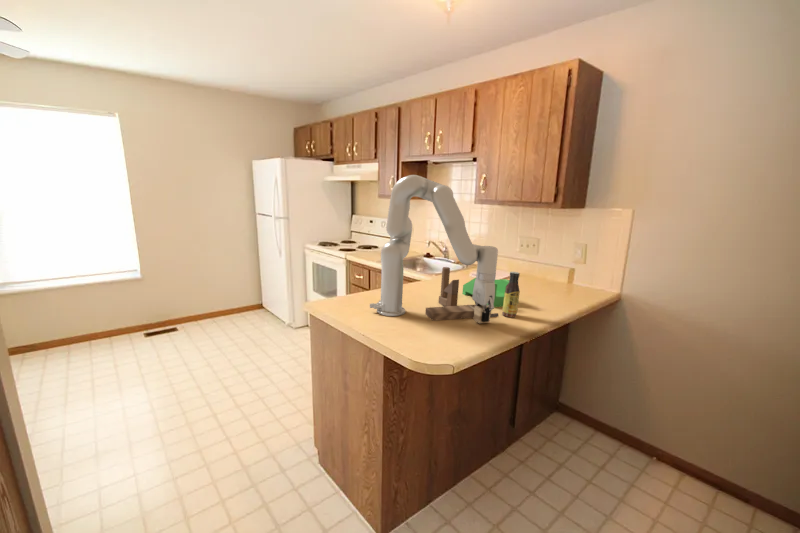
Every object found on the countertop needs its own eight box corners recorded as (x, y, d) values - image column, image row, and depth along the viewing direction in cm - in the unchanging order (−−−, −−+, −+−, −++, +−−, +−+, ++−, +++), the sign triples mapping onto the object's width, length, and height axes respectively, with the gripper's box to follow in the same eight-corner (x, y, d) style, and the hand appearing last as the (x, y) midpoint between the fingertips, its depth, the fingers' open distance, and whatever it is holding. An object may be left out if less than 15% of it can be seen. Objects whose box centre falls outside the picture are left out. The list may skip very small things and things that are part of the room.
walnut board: (432, 320, 148) (433, 313, 148) (425, 314, 156) (425, 307, 155) (490, 316, 157) (491, 309, 156) (481, 310, 164) (481, 303, 164)
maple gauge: (478, 323, 145) (480, 309, 143) (473, 319, 149) (474, 305, 148) (500, 321, 148) (501, 308, 147) (494, 318, 152) (495, 304, 151)
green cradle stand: (512, 306, 174) (515, 282, 172) (490, 308, 169) (492, 284, 167) (482, 292, 196) (484, 271, 193) (462, 294, 190) (464, 272, 188)
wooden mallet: (450, 309, 163) (453, 271, 160) (438, 303, 173) (440, 267, 169) (457, 309, 165) (460, 271, 161) (444, 302, 174) (447, 266, 171)
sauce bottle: (508, 318, 155) (513, 274, 151) (498, 314, 160) (503, 271, 156) (519, 316, 158) (525, 273, 154) (509, 312, 163) (514, 270, 159)
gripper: (467, 272, 150) (464, 313, 154) (488, 282, 135) (484, 327, 138) (483, 271, 153) (479, 312, 156) (505, 281, 137) (501, 325, 141)
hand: (481, 318), depth 147 cm, fingers closed on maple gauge, 4 cm apart
